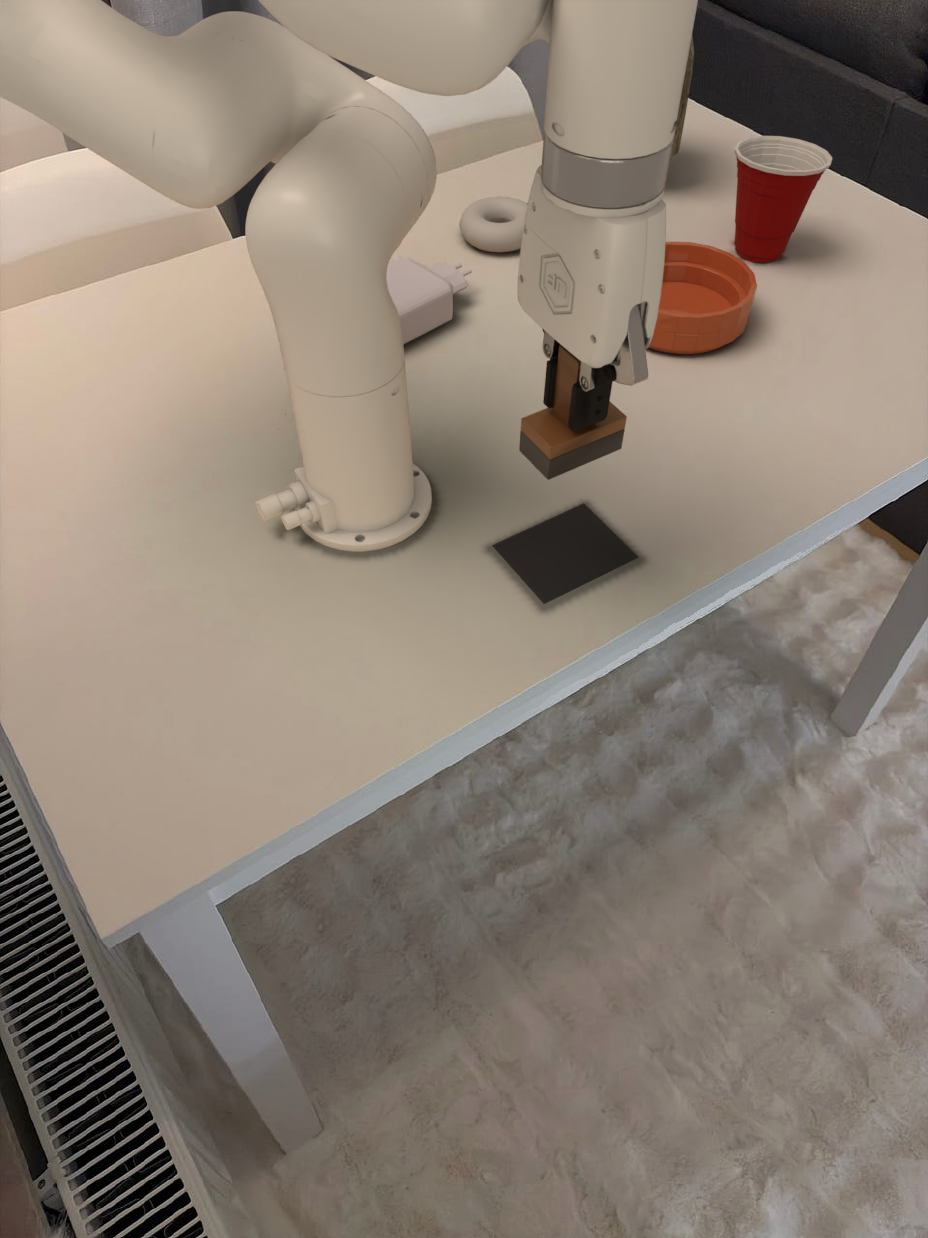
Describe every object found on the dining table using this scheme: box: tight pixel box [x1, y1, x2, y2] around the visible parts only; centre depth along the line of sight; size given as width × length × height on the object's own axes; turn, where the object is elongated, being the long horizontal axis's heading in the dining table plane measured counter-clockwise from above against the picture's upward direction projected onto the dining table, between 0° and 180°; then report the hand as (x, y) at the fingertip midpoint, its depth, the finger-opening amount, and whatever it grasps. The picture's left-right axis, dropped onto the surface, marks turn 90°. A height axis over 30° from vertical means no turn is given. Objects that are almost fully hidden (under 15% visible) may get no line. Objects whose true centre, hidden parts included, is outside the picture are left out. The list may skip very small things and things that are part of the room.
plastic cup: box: [733, 135, 833, 264], centre depth 108 cm, size 11×11×12 cm
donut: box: [459, 196, 528, 253], centre depth 114 cm, size 10×4×10 cm
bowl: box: [647, 241, 758, 355], centre depth 101 cm, size 15×15×5 cm
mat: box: [491, 503, 639, 605], centre depth 80 cm, size 10×8×1 cm
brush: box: [518, 345, 627, 481], centre depth 68 cm, size 7×4×9 cm, turn 121°
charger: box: [386, 256, 473, 346], centre depth 103 cm, size 5×9×15 cm
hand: (574, 410), depth 69 cm, fingers closed on brush, 2 cm apart
